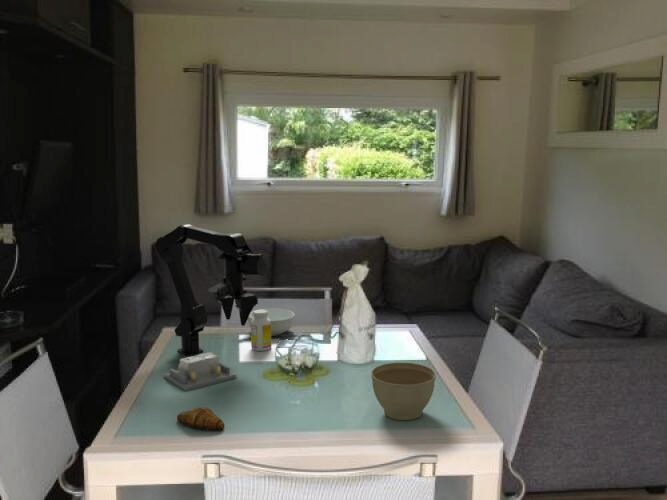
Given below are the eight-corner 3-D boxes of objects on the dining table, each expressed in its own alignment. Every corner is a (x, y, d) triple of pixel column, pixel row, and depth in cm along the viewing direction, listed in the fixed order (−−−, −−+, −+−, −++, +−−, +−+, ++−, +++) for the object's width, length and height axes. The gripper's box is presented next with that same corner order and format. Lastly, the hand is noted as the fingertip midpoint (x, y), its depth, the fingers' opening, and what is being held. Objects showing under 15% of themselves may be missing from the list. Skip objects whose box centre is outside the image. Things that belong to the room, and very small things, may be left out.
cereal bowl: (242, 338, 231) (241, 318, 230) (255, 325, 247) (255, 307, 246) (288, 340, 228) (288, 321, 227) (299, 327, 244) (299, 309, 243)
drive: (180, 375, 191) (179, 359, 190) (210, 368, 197) (210, 352, 196) (188, 380, 187) (187, 363, 186) (219, 372, 193) (218, 356, 192)
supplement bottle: (273, 345, 222) (272, 309, 220) (269, 352, 216) (268, 314, 214) (253, 345, 223) (253, 308, 221) (249, 351, 216) (248, 313, 214)
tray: (164, 376, 192) (163, 365, 192) (212, 365, 202) (212, 354, 202) (185, 390, 182) (185, 378, 181) (235, 377, 192) (235, 366, 191)
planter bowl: (370, 401, 174) (370, 361, 173) (430, 401, 174) (431, 362, 172) (371, 426, 158) (372, 383, 157) (438, 427, 158) (439, 384, 156)
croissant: (231, 426, 160) (231, 406, 159) (215, 437, 154) (215, 417, 153) (187, 416, 165) (186, 397, 164) (169, 426, 159) (168, 407, 158)
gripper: (196, 272, 206) (198, 320, 209) (226, 282, 192) (227, 333, 195) (227, 268, 213) (229, 314, 216) (258, 277, 199) (259, 327, 201)
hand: (235, 322), depth 207 cm, fingers open, 9 cm apart
